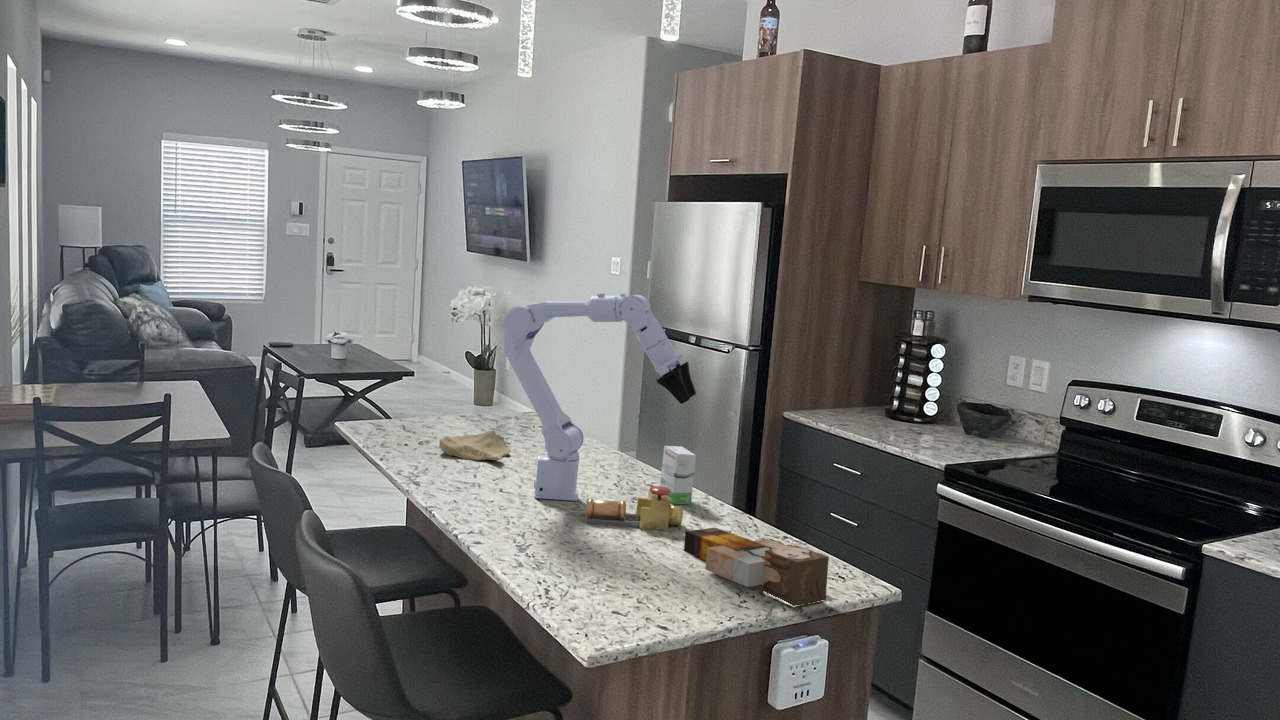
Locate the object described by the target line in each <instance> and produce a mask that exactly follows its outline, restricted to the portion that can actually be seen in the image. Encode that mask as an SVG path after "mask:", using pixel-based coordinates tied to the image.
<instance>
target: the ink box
mask: <svg viewBox="0 0 1280 720" xmlns="http://www.w3.org/2000/svg"><path fill="white" fill-rule="evenodd" d="M696 458H697V455H696V454H695V453H693V452H692V451H690V450H688V449H687V448H685V447H683V446H676V445H675V446H674V445H664V446H663V454H662V462H661V472H660V481H659V486H660V487H666V488H669V489H670V490H671V492H670V495H668V497H669V499H670V501H671V504H672V505H691V504H692V497H693V487H694V477H695V470H696V469H695V468H696Z"/></svg>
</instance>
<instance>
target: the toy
mask: <svg viewBox="0 0 1280 720" xmlns="http://www.w3.org/2000/svg"><path fill="white" fill-rule="evenodd" d="M683 548H684V549H683V551H684V552H686V553H687V554H690V555H691V556H693V555H694V557H696V558H699V559H700V560H703V561H705V571H708V572H711V573H713V574H715V575H717V576H719V577H723V578H725V579H727V580H729V581H732V582H735V583H737V584H739V585H741V586H744V587H747V588H749V587H755V586H759V585H761V586H762V588H761V591H762V590H763V591H765V592H767V593H769V594H771V595H773V596H775V597H778V598H780V599H782V600H784V601H786V602H788V603H790V604H792V605H793V606H794V605H802V604H808V603H813V602H817V601H821V600H825V601H826V598H827V585H828V574H829V573H828V571H829V559H830V558H829V556H828V555H825V554H821V553H819V552H816V551H812V550H811V549H806V548H804V547H801V546H800V545H792V546H791V545H790V546H788V545H786V544H782V543H780V542H776V541H775V540H771V539H769V538H766V539H760V540H759V539H758V540H751V539H749V538H746V537H743V536H740V535H737V534H734V533H731V532H728V531H726V530H723V529H721V528H717V527H709V528H700V529H693V530H692V529H691V530H685V532H684V545H683ZM813 604H814V603H813ZM808 605H809V604H808Z"/></svg>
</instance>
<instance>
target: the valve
mask: <svg viewBox="0 0 1280 720" xmlns="http://www.w3.org/2000/svg"><path fill="white" fill-rule="evenodd" d="M670 492H671V490H670V489H669V488H666V487H660V485H658V486H656V485H655V486H650V487H649V491H648V492H647V497H639V496H638V497H637V501H636V509H635V514H637V519H636V520H639V522H640V523H639V527H638V528H639V529H640V528H642V529H641V530H650V529H655V528H660V529H659V530H668V529H669V525H670V526H682V523H683V513H684V510H683V506H682V505H673V504H672V503H671V501H670V499H669V497H668V495H670ZM671 504H672V505H671Z"/></svg>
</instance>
